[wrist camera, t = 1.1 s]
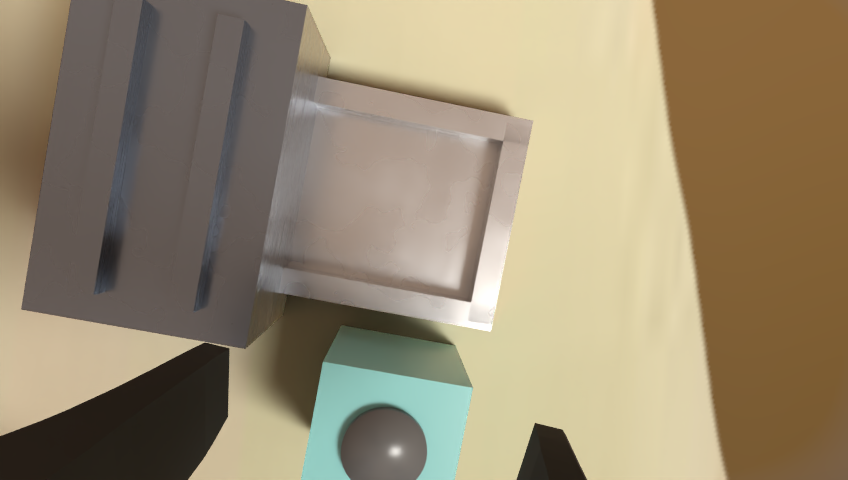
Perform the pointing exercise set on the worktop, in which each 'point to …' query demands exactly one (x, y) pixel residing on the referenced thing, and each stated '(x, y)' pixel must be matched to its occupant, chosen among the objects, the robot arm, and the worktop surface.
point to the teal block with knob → (387, 409)
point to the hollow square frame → (257, 179)
